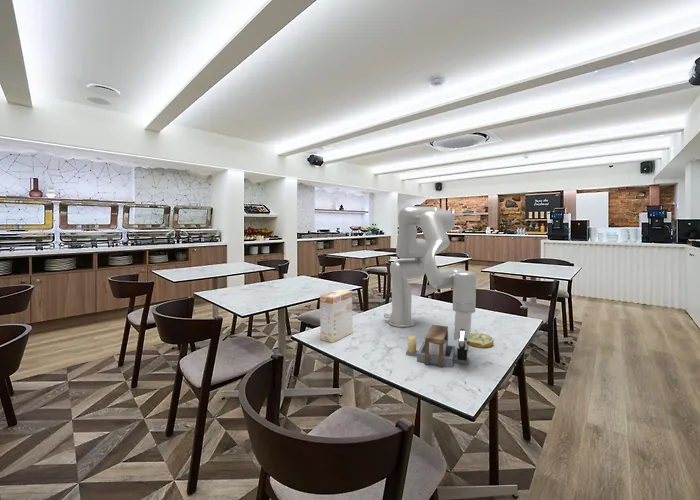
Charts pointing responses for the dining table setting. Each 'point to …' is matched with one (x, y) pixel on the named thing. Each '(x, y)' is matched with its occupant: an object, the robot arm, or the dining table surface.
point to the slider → (433, 358)
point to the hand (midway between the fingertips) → (462, 355)
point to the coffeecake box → (336, 315)
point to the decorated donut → (480, 340)
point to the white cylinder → (436, 348)
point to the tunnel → (436, 335)
